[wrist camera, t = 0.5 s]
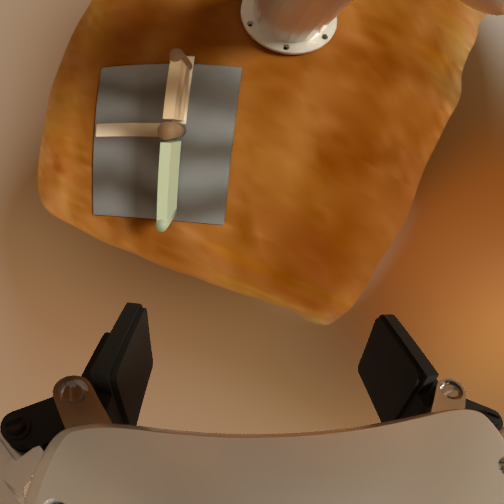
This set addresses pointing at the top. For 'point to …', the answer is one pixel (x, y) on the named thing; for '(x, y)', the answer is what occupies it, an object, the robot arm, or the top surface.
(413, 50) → the top surface
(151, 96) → the base
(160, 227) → the bar
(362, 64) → the top surface
